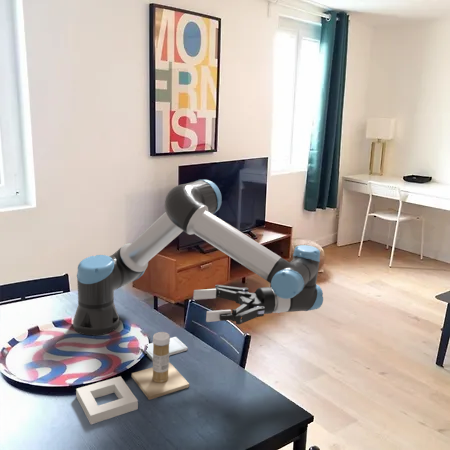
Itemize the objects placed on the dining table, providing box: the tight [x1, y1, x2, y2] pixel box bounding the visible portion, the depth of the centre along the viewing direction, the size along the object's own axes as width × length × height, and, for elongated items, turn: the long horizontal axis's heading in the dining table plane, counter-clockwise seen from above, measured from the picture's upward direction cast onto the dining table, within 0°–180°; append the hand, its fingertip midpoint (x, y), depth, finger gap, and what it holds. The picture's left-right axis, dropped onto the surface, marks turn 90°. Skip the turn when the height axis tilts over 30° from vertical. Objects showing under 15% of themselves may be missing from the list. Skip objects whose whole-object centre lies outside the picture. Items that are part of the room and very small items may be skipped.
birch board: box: [131, 362, 190, 401], centre depth 128 cm, size 12×12×1 cm
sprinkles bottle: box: [152, 331, 171, 383], centre depth 126 cm, size 5×5×13 cm
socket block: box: [75, 375, 139, 425], centre depth 118 cm, size 12×12×2 cm
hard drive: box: [145, 336, 189, 362], centre depth 145 cm, size 2×8×12 cm
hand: (199, 305), depth 126 cm, fingers open, 13 cm apart
